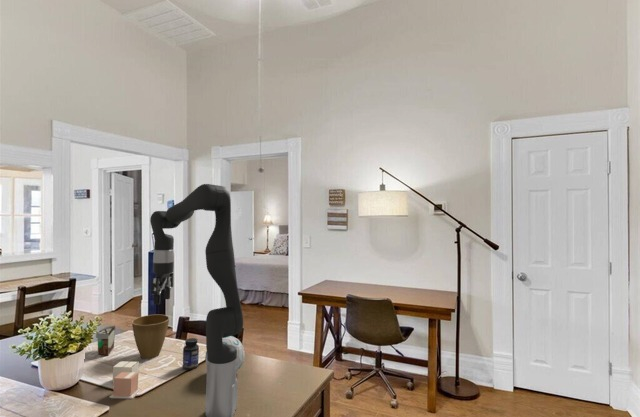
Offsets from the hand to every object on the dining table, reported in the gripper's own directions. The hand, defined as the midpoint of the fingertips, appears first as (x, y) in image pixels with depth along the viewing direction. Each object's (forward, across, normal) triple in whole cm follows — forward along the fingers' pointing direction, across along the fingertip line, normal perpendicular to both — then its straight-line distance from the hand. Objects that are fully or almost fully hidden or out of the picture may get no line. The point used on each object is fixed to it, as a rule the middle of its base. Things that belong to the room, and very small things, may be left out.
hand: (162, 301), depth 137 cm
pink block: (+28, -17, +4) cm, 33 cm away
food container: (+28, +18, +34) cm, 48 cm away
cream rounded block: (+28, -7, +10) cm, 30 cm away
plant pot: (+28, +16, +12) cm, 35 cm away
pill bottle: (+28, +6, -10) cm, 31 cm away
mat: (+28, -16, +4) cm, 33 cm away
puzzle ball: (+28, 0, -26) cm, 38 cm away
